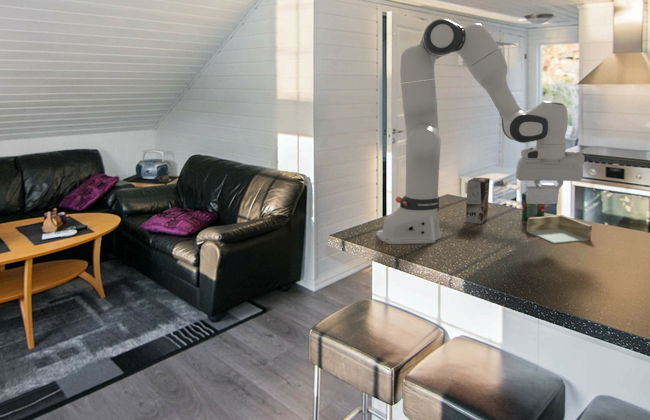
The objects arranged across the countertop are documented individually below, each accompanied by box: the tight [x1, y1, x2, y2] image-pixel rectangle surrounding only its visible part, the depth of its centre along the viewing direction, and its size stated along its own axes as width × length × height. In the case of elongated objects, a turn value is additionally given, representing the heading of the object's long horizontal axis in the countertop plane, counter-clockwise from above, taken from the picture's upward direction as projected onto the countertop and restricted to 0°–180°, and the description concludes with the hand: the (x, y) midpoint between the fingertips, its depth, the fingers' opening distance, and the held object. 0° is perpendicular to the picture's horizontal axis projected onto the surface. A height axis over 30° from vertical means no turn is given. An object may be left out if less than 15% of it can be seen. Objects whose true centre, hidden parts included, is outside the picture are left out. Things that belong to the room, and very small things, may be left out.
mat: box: [528, 229, 589, 245], centre depth 179 cm, size 14×15×1 cm
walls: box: [526, 214, 593, 241], centre depth 178 cm, size 14×15×5 cm
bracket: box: [525, 182, 559, 205], centre depth 169 cm, size 9×9×5 cm
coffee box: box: [465, 177, 491, 225], centre depth 198 cm, size 9×6×16 cm
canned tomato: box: [521, 191, 546, 224], centre depth 195 cm, size 8×8×11 cm
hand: (547, 193), depth 171 cm, fingers closed on bracket, 3 cm apart
